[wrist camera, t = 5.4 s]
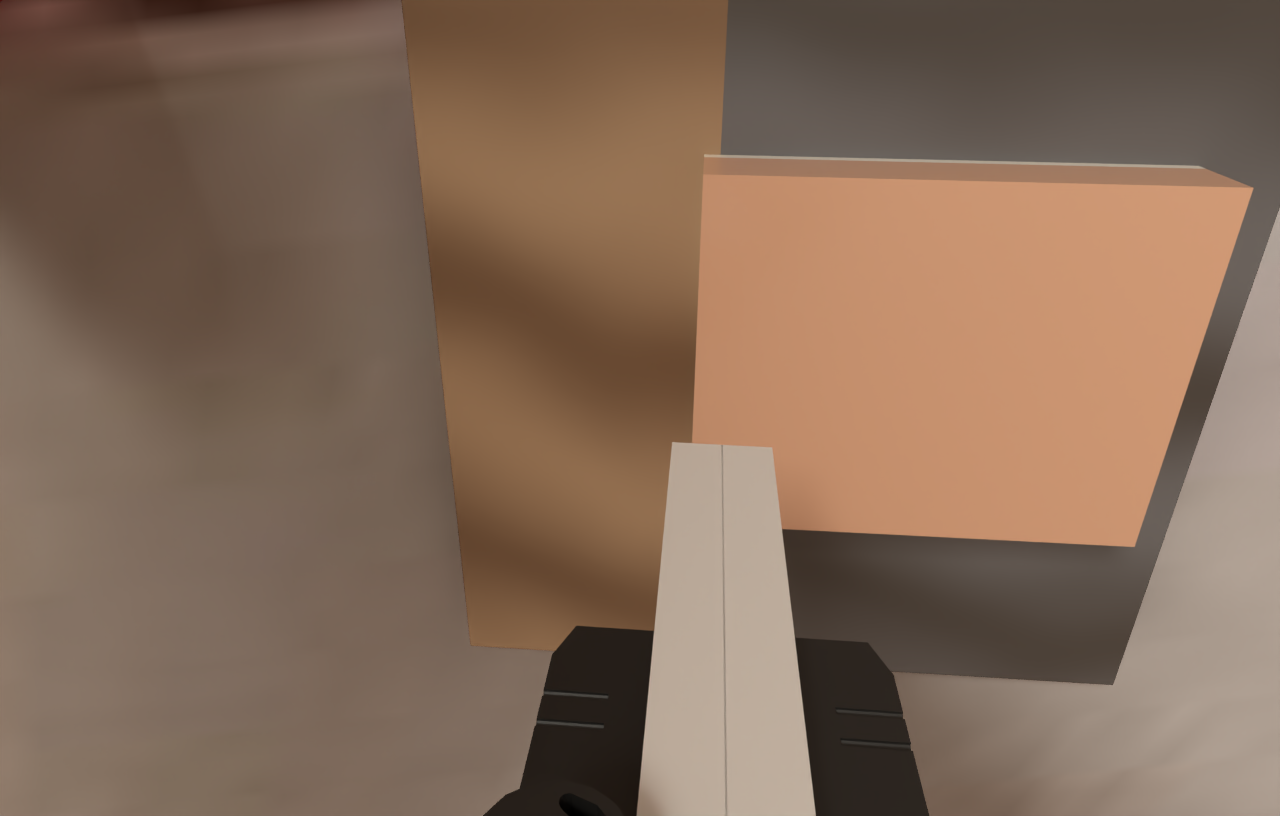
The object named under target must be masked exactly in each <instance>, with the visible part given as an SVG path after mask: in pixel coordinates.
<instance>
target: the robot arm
mask: <svg viewBox="0 0 1280 816" xmlns="http://www.w3.org/2000/svg"><path fill="white" fill-rule="evenodd" d="M910 744H911V742H910V738H909V735H908V731H907V727H906V723H905V719H903V711H902V707H901V703H900V699H899V695H898V691H897V687H896V683H895V679H894V675H893V674H892V673H891V671H890V670H889V669H888V667H887V666H886V665H885V664H884V662H883V661H882V660H881V659H880V657H879V656H878V655H877V653H876V652H875V651H874V650H873V648H872V647H871V646H870V644H869V643H868V642H855V641H840V640H825V639H810V638H795V635H794V627H793V619H792V610H791V602H790V593H789V585H788V576H787V568H786V559H785V551H784V543H783V534H782V526H781V517H780V509H779V500H778V492H777V484H776V475H775V467H774V458H773V450H772V447H755V446H736V445H717V444H698V443H679V442H672V449H671V460H670V470H669V481H668V491H667V502H666V512H665V523H664V533H663V544H662V554H661V565H660V575H659V586H658V596H657V607H656V617H655V628H654V631H650V630H635V629H620V628H605V627H590V626H576V627H575V628H574V629H573V630H572V631H571V633H570V634H569V635H568V636H567V637H566V639H565V640H564V641H563V642H562V643H561V645H560V646H559V647H558V648H557V649H556V650H555V652H554V653H553V654H552V658H551V662H550V666H549V670H548V674H547V678H546V683H545V687H544V695H543V696H542V699H541V703H540V707H539V711H538V716H537V724H536V726H535V728H534V732H533V736H532V740H531V744H530V749H529V753H528V757H527V761H526V765H525V769H524V773H523V777H522V782H521V786H520V789H518V790H516V791H514V792H512V793H509V794H507V795H505V796H504V797H503V798H502V799H501V800H500V801H499V802H497V803H496V804H495V805H494V806H493V807H492V808H491V809H490V810H489V811H488V812H487V813H485V814H484V815H483V816H929V813H928V809H927V806H926V802H925V798H924V794H923V790H922V786H921V782H920V778H919V774H918V770H917V766H916V762H915V758H914V754H913V751H911V748H910Z"/></svg>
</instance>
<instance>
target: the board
mask: <svg viewBox="0 0 1280 816" xmlns="http://www.w3.org/2000/svg"><path fill="white" fill-rule="evenodd" d="M401 1H402V10H403V19H404V29H405V38H406V47H407V57H408V66H409V75H410V85H411V94H412V103H413V113H414V122H415V131H416V141H417V150H418V159H419V169H420V178H421V187H422V197H423V206H424V215H425V225H426V234H427V243H428V253H429V262H430V271H431V281H432V290H433V299H434V309H435V318H436V327H437V337H438V346H439V355H440V365H441V374H442V383H443V393H444V402H445V411H446V421H447V430H448V439H449V449H450V458H451V467H452V477H453V486H454V495H455V505H456V514H457V523H458V533H459V542H460V551H461V561H462V570H463V579H464V589H465V598H466V607H467V617H468V626H469V635H470V645H471V646H485V647H502V648H518V649H534V650H551V651H555V650H556V649H557V648H558V647H559V646H560V645H561V643H562V642H563V641H564V640H565V639H566V637H567V636H568V635H569V634H570V633H571V631H572V630H573V629H574V628H575V627H576V626H590V627H605V628H620V629H635V630H650V631H654V628H655V617H656V607H657V596H658V586H659V575H660V565H661V554H662V544H663V533H664V523H665V512H666V502H667V491H668V481H669V470H670V460H671V449H672V442H679V443H692V433H693V409H694V385H695V360H696V336H697V312H698V287H699V263H700V239H701V214H702V190H703V168H704V154H706V155H750V156H794V157H837V158H881V159H925V160H968V161H1012V162H1055V163H1099V164H1143V165H1186V166H1200V167H1203V168H1205V169H1208V170H1210V171H1213V172H1215V173H1218V174H1220V175H1223V176H1225V177H1228V178H1230V179H1233V180H1235V181H1238V182H1240V183H1243V184H1245V185H1248V186H1250V187H1253V191H1252V194H1251V197H1250V200H1249V203H1248V206H1247V209H1246V212H1245V215H1244V218H1243V221H1242V224H1241V228H1240V231H1239V234H1238V237H1237V240H1236V243H1235V246H1234V249H1233V252H1232V255H1231V258H1230V261H1229V264H1228V267H1227V270H1226V273H1225V276H1224V279H1223V282H1222V285H1221V288H1220V291H1219V294H1218V297H1217V300H1216V303H1215V306H1214V309H1213V312H1212V315H1211V318H1210V321H1209V324H1208V327H1207V330H1206V333H1205V336H1204V339H1203V342H1202V345H1201V348H1200V351H1199V354H1198V357H1197V360H1196V363H1195V366H1194V369H1193V372H1192V375H1191V378H1190V381H1189V384H1188V387H1187V390H1186V393H1185V396H1184V399H1183V402H1182V405H1181V408H1180V411H1179V414H1178V417H1177V420H1176V423H1175V426H1174V429H1173V432H1172V435H1171V439H1170V442H1169V445H1168V448H1167V451H1166V454H1165V457H1164V460H1163V463H1162V466H1161V469H1160V472H1159V475H1158V478H1157V481H1156V484H1155V487H1154V490H1153V493H1152V496H1151V499H1150V502H1149V505H1148V508H1147V511H1146V514H1145V517H1144V520H1143V523H1142V526H1141V529H1140V532H1139V535H1138V538H1137V541H1136V544H1135V547H1125V546H1106V545H1086V544H1067V543H1047V542H1028V541H1008V540H988V539H969V538H949V537H930V536H910V535H891V534H871V533H852V532H832V531H812V530H793V529H782V534H783V543H784V551H785V559H786V568H787V576H788V585H789V593H790V602H791V610H792V619H793V627H794V635H795V638H810V639H825V640H840V641H855V642H868V643H869V644H870V646H871V647H872V648H873V650H874V651H875V652H876V653H877V655H878V656H879V657H880V659H881V660H882V661H883V662H884V664H885V665H886V666H887V667H888V669H889V670H890V671H893V672H910V673H926V674H942V675H959V676H975V677H991V678H1008V679H1024V680H1040V681H1057V682H1073V683H1089V684H1106V685H1113V683H1114V680H1115V678H1116V675H1117V672H1118V669H1119V666H1120V663H1121V660H1122V657H1123V655H1124V652H1125V649H1126V646H1127V643H1128V640H1129V637H1130V635H1131V632H1132V629H1133V626H1134V623H1135V620H1136V617H1137V615H1138V612H1139V609H1140V606H1141V603H1142V600H1143V597H1144V594H1145V592H1146V589H1147V586H1148V583H1149V580H1150V577H1151V574H1152V572H1153V569H1154V566H1155V563H1156V560H1157V557H1158V554H1159V551H1160V549H1161V546H1162V543H1163V540H1164V537H1165V534H1166V531H1167V529H1168V526H1169V523H1170V520H1171V517H1172V514H1173V511H1174V508H1175V506H1176V503H1177V500H1178V497H1179V494H1180V491H1181V488H1182V486H1183V483H1184V480H1185V477H1186V474H1187V471H1188V468H1189V466H1190V463H1191V460H1192V457H1193V454H1194V451H1195V448H1196V445H1197V443H1198V440H1199V437H1200V434H1201V431H1202V428H1203V425H1204V423H1205V420H1206V417H1207V414H1208V411H1209V408H1210V405H1211V402H1212V400H1213V397H1214V394H1215V391H1216V388H1217V385H1218V382H1219V380H1220V377H1221V374H1222V371H1223V368H1224V365H1225V362H1226V360H1227V357H1228V354H1229V351H1230V348H1231V345H1232V342H1233V339H1234V337H1235V334H1236V331H1237V328H1238V325H1239V322H1240V319H1241V317H1242V314H1243V311H1244V308H1245V305H1246V302H1247V299H1248V296H1249V294H1250V291H1251V288H1252V285H1253V282H1254V279H1255V276H1256V274H1257V271H1258V268H1259V265H1260V262H1261V259H1262V256H1263V254H1264V251H1265V248H1266V245H1267V242H1268V239H1269V236H1270V233H1271V231H1272V228H1273V225H1274V222H1275V219H1276V216H1277V213H1278V211H1279V208H1280V0H401Z"/></svg>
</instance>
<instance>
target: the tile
mask: <svg viewBox="0 0 1280 816" xmlns="http://www.w3.org/2000/svg"><path fill="white" fill-rule="evenodd" d="M1252 191H1253V187H1250V186H1248V185H1245V184H1243V183H1240V182H1238V181H1235V180H1233V179H1230V178H1228V177H1225V176H1223V175H1220V174H1218V173H1215V172H1213V171H1210V170H1208V169H1205V168H1203V167H1200V166H1186V165H1143V164H1099V163H1055V162H1012V161H968V160H925V159H881V158H837V157H794V156H750V155H706V154H704V168H703V190H702V214H701V239H700V263H699V287H698V312H697V336H696V360H695V385H694V409H693V433H692V443H698V444H717V445H736V446H755V447H772V450H773V458H774V467H775V475H776V484H777V492H778V500H779V509H780V517H781V526H782V529H793V530H812V531H832V532H852V533H871V534H891V535H910V536H930V537H949V538H969V539H988V540H1008V541H1028V542H1047V543H1067V544H1086V545H1106V546H1125V547H1135V544H1136V541H1137V538H1138V535H1139V532H1140V529H1141V526H1142V523H1143V520H1144V517H1145V514H1146V511H1147V508H1148V505H1149V502H1150V499H1151V496H1152V493H1153V490H1154V487H1155V484H1156V481H1157V478H1158V475H1159V472H1160V469H1161V466H1162V463H1163V460H1164V457H1165V454H1166V451H1167V448H1168V445H1169V442H1170V439H1171V435H1172V432H1173V429H1174V426H1175V423H1176V420H1177V417H1178V414H1179V411H1180V408H1181V405H1182V402H1183V399H1184V396H1185V393H1186V390H1187V387H1188V384H1189V381H1190V378H1191V375H1192V372H1193V369H1194V366H1195V363H1196V360H1197V357H1198V354H1199V351H1200V348H1201V345H1202V342H1203V339H1204V336H1205V333H1206V330H1207V327H1208V324H1209V321H1210V318H1211V315H1212V312H1213V309H1214V306H1215V303H1216V300H1217V297H1218V294H1219V291H1220V288H1221V285H1222V282H1223V279H1224V276H1225V273H1226V270H1227V267H1228V264H1229V261H1230V258H1231V255H1232V252H1233V249H1234V246H1235V243H1236V240H1237V237H1238V234H1239V231H1240V228H1241V224H1242V221H1243V218H1244V215H1245V212H1246V209H1247V206H1248V203H1249V200H1250V197H1251V194H1252Z"/></svg>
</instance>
